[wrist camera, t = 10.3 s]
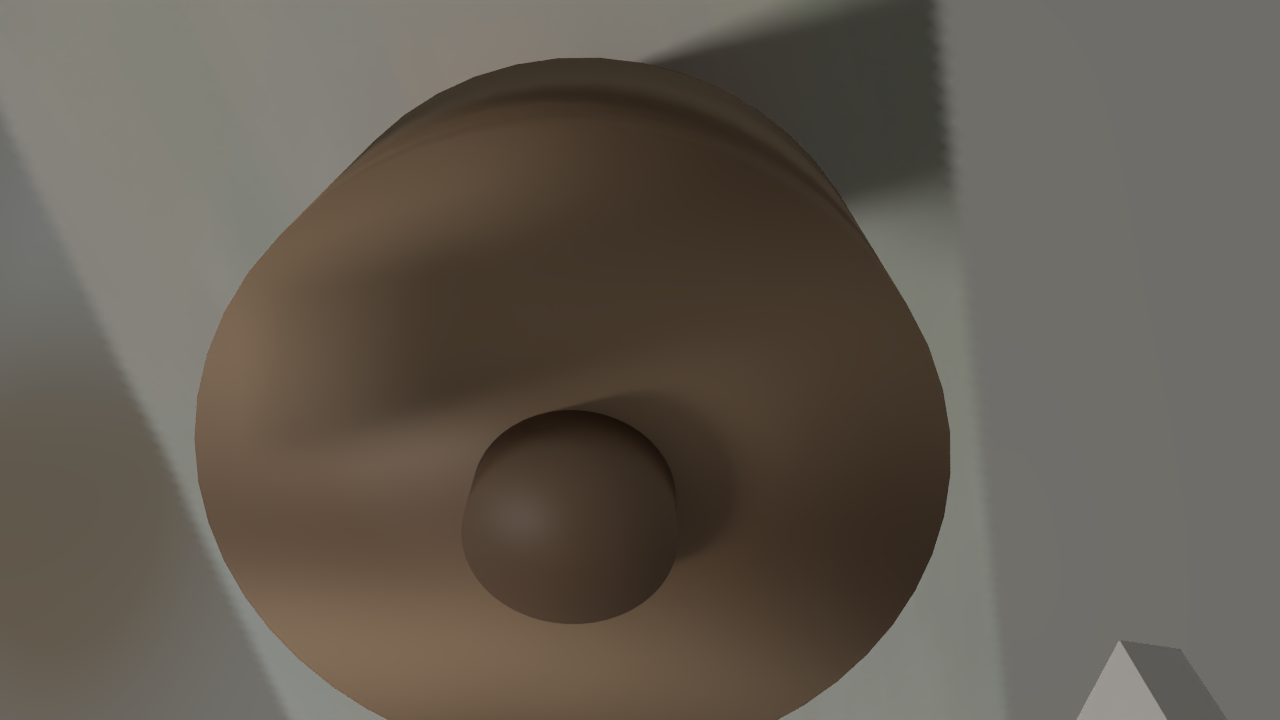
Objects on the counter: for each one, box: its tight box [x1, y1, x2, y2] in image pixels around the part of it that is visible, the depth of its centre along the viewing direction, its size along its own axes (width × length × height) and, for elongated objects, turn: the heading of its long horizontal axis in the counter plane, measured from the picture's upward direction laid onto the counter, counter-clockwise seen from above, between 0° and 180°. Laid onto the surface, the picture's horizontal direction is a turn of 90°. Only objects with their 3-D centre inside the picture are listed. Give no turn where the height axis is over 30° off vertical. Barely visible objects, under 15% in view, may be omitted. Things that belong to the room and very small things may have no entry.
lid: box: [195, 58, 950, 720], centre depth 16 cm, size 11×11×6 cm
